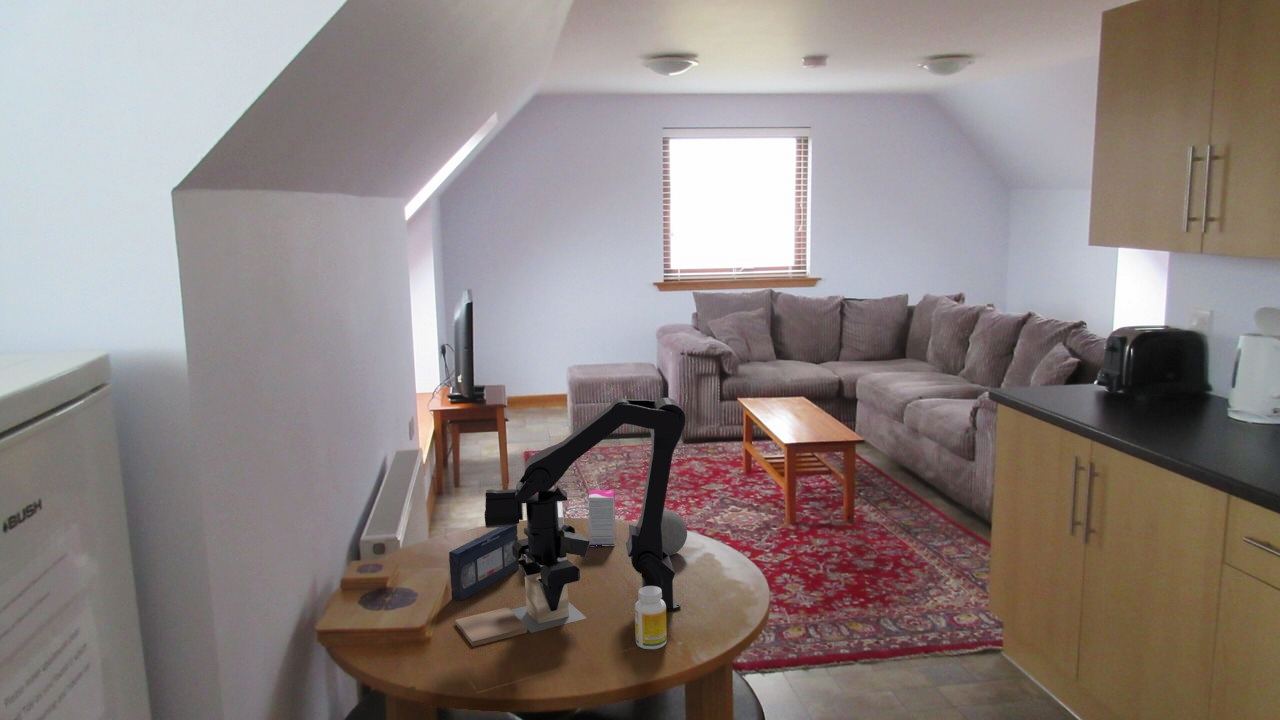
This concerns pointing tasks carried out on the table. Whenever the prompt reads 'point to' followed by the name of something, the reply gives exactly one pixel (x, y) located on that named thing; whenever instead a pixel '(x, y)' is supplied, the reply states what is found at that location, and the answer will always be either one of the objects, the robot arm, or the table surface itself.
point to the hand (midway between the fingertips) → (547, 604)
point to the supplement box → (601, 517)
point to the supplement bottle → (650, 618)
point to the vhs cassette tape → (482, 562)
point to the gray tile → (534, 626)
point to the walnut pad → (490, 626)
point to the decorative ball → (673, 532)
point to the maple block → (543, 601)
